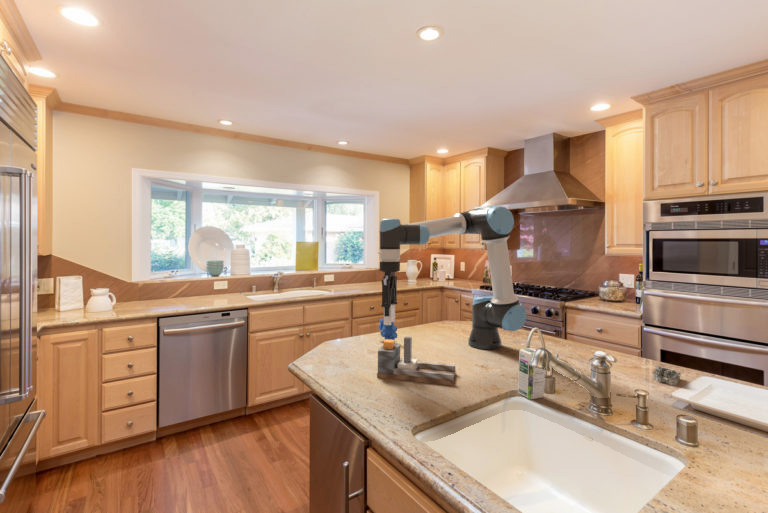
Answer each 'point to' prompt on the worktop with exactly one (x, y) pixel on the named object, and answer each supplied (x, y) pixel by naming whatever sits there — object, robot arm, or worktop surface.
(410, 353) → the carriage
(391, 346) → the button
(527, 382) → the syrup box
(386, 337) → the grapes
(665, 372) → the grey ruffled clump
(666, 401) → the worktop surface
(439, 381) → the rail base
